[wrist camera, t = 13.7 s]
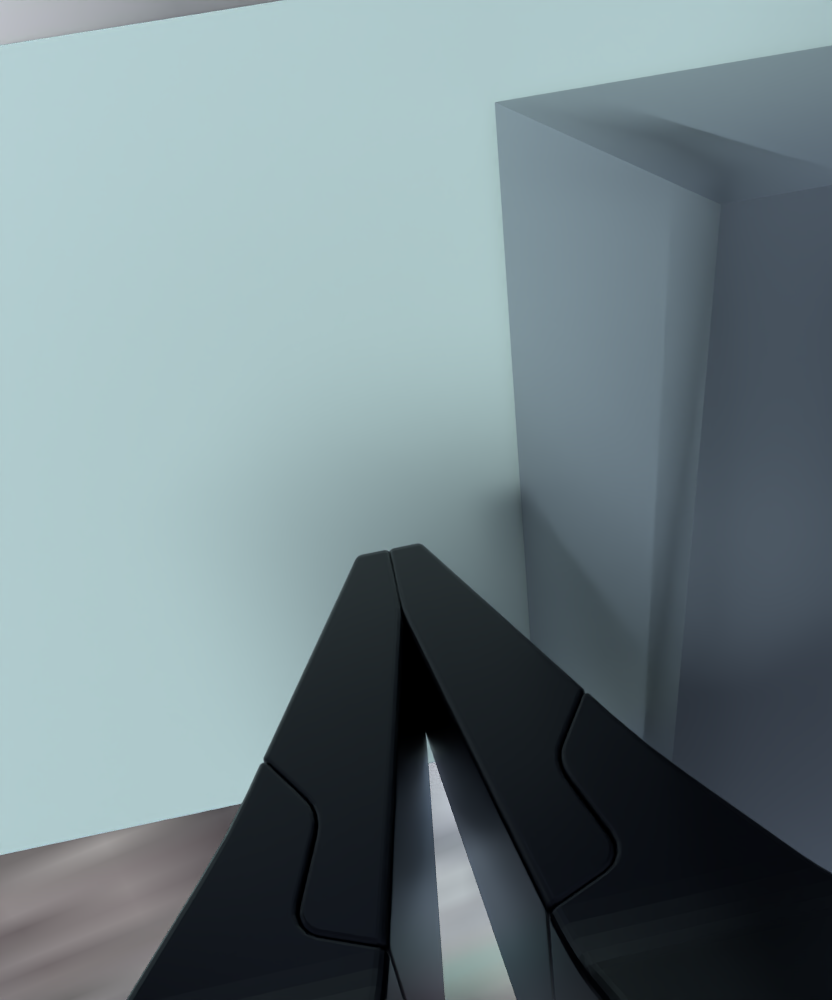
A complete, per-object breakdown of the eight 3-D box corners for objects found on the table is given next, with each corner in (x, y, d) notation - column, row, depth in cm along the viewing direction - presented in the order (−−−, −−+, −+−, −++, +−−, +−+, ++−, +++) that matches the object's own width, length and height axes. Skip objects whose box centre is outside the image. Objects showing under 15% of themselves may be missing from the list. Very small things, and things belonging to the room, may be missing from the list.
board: (1008, 597, 16) (1235, 781, 12) (-77, 826, 15) (-199, 1110, 11) (1312, -163, 9) (2037, -280, 5) (-643, 147, 8) (-1465, 276, 4)
